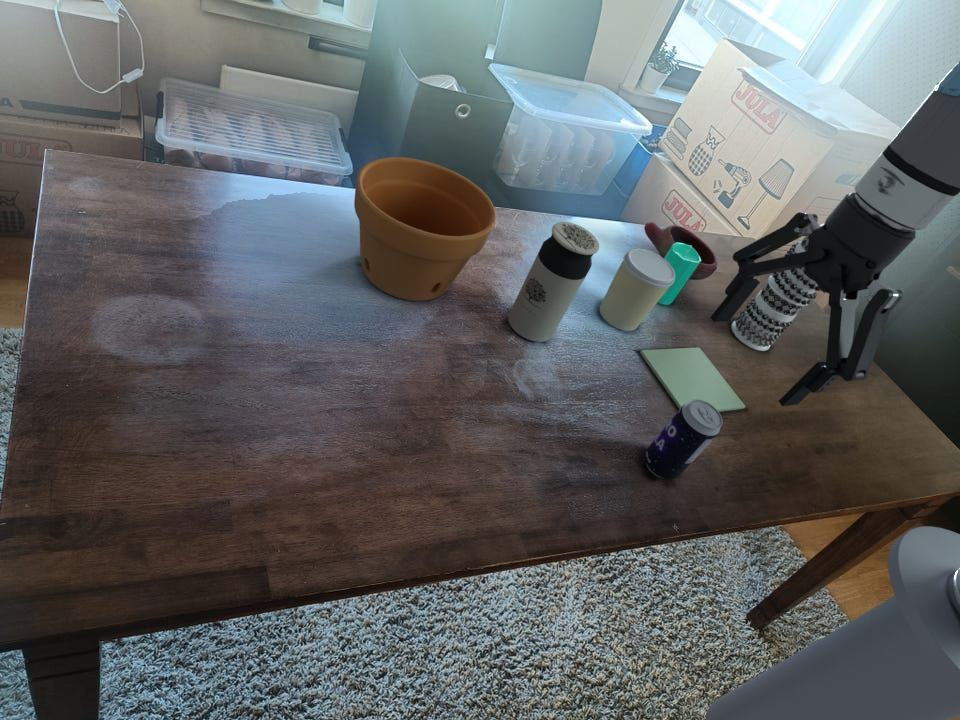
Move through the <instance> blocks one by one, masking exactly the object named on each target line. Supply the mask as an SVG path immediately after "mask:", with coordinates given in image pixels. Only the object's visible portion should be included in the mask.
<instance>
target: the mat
mask: <svg viewBox="0 0 960 720" xmlns="http://www.w3.org/2000/svg"><path fill="white" fill-rule="evenodd" d="M639 354H640V355H641V357H642V359H644V361H645V362H646V363H647V365H648V367H649V368H650V369H651V371H652V372H653V374H654V375H655V376H656V378H657V379H658V381H659V382H660V383H661V385H662V387H663V388H664V389H665V391H666V392H667V394H668V396H670V398H671V399H672V401H673V402H674V404H675V405H676V407H677V408H678V409H679V410H680V408H681V407H682V406H683V405H684V404H687V403H689V402H690V401H692V400H695V399H699V400H703V401H706V402H708V403H709V404H711V405H712V406H713V407H715V408H716V409H717V411H718V412H719V413H720V412H728V411H737V410H738V411H739V410H743V409H745V408H746V405H745V404H744V403H743V401H742V400H741V398H740V397H739V396H738V394H737V393H736V392H735V391H734V389H733V388H732V387H731V386H730V384H729V383H728V382H727V381H726V380H725V378H724V377H723V375H722V374H721V373H720V372H719V371H718V369H717V368H716V367H715V366H714V364H713V363H712V361H711V360H710V359H709V358H708V356H707V355H706V354H705V353H704V351H703V350H702V349H701V348H700V347H680V348H661V349H660V348H659V349H658V348H657V349H641V350H640V351H639Z"/></svg>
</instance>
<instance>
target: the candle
mask: <svg viewBox="0 0 960 720" xmlns="http://www.w3.org/2000/svg"><path fill="white" fill-rule="evenodd" d="M664 259H665V260H666V261H667V262H668V263H669V264H670V265H671V266H672V268H673V269H674V272H675V280H674V283H673V284H672V285H671V286H670V287H669V288H668V289H667V291H666V292H665V293H664V294H663V296H662V297H661V298H660V300H659V301H658V302H657V304H661V305H665V306H669V305H671V304H672V303H673V302H674V300H675V299H676V298H677V297H678V295H679V293H680V292H681V290H682V289H683V287H684V286H685V285H686V284H687V282H688V280H690V279H689V278H690V276H691V275H692V273H693V272H694V270H695V269H696V268H697V266H698V265H699V263H700V262H701V259H700V256H699V255H698V253H697V252H696V251H695V250H694V249H693V248H692V245H691V246H690V245H687V244H684V243H678V242H676V243H674V244H673V245H672V246H671V248H670V250H669V251H668V253H667V254H666V256H665V257H664Z"/></svg>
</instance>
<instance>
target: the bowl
mask: <svg viewBox="0 0 960 720" xmlns="http://www.w3.org/2000/svg"><path fill="white" fill-rule="evenodd" d="M644 232H645V235H646V237H647V238H648V240H649V241H650V242H651V243H652V245H653V246H654V247H655V249H656V250H657V252H658V253H659V256H661V257H662V258H663V259H664V257H665V256H666V254H667V253H668V251H669V250H670V248H671V246H672V245H673V244H674V243H676V242H678V243H684V244H687V245H690V246H691V245H692V248H693V249H694V250H695V251H696V252H697V253H698V255H699V256H700V259H701V262H700V263H699V265H698V266H697V268H696V269H695V270H694V272H693V273H692V275H691V276H690V278H689V279H688V280H690V281H701V280H704V279H707V278H709V277H710V276H711V275H712V274H714V272H715V271H716V270H717V268H718V267H717V266H718V259H717V256H716V254H715V253H714V252H713V250H712V248H711V247H710V246H709V245H708V244H707V243H706V242H705V241H704V240H703V239H701V238H700V237H698V236H697V234H695V233H693V232H692V231H690V230H689V229H687V228H685V227H683V226H681V225H677V224H671V225H669V226H667V227H665V228H661V227H660V226H658V224H657V223H655V222H653V221H651V222H647V223H645V225H644Z"/></svg>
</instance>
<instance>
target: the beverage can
mask: <svg viewBox="0 0 960 720" xmlns="http://www.w3.org/2000/svg"><path fill="white" fill-rule="evenodd" d="M722 426H723V416H722V415H721V413H720V412H718V411H717V409H716V408H715V407H713V406H712V405H711V404H709V403H708V402H706V401H703V400H699V399H695V400H692V401H690V402H689V403H687V404H684V405H683V406H682V407H681V408H680V409H679V410H678V411H677V412H676V413H675V414H674V415H673V416H672V418H671V419H670V420H669V421H668V423H667V424H666V425H665V426H664V427H663V428H662V430H661V431H660V433H658V435H656V437H655V438H654V439H653V441H652V442H651V443H650V444H649V445H648V447H647V448H645V451H644V452H643V453H644V455H643V457H644V461H645V465H646V467H647V469H648V470H649V471H650V472H651V474H653V475H654V476H655V477H657V478H660V479H664V480H670V481H671V480H672V481H673V480H676V479H678V478H679V477H680V476H681V475H682V474H683V473H684V471H685V470H686V469H687V468H688V467H689V466H690V465H692V463H693V462H694V461H695V460H696V458H697V457H699V456H700V454H702V452H704V450H705V449H706V448H707V447H708V446H709V445H710V444H711V443H712V442H713V440H714V439H715V438H716V437H717V436H718V435H719V434H720V431H721V427H722Z"/></svg>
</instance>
